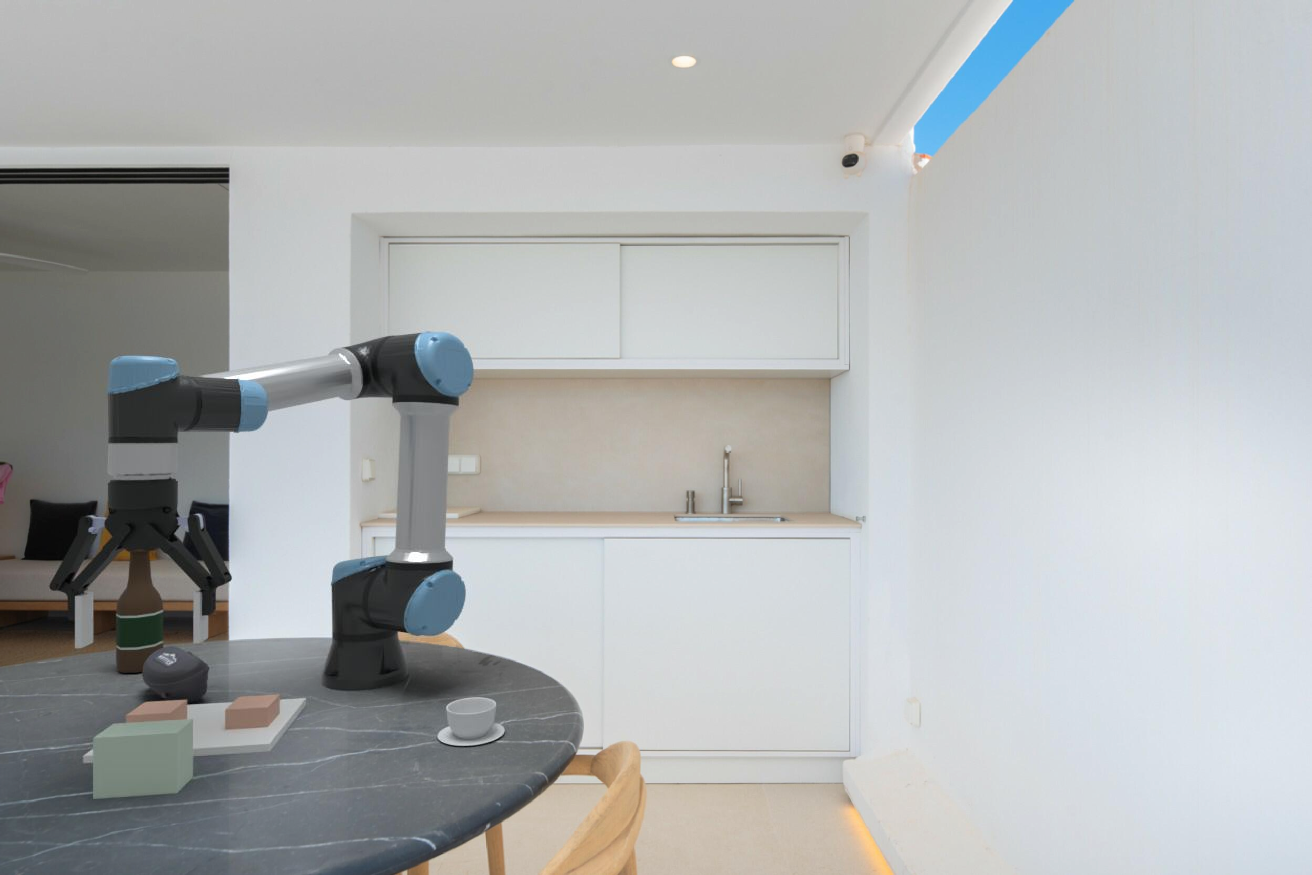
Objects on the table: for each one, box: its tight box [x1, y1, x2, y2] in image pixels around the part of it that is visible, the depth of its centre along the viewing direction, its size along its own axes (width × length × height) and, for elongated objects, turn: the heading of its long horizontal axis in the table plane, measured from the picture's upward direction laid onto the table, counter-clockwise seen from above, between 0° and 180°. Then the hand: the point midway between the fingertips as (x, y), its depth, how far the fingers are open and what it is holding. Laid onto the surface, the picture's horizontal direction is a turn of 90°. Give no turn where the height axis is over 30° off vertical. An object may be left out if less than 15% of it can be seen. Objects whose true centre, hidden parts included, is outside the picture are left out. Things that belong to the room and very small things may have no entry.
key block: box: [92, 719, 194, 800], centre depth 100 cm, size 10×5×8 cm, turn 100°
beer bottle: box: [115, 549, 164, 674], centre depth 153 cm, size 8×8×24 cm
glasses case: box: [141, 645, 210, 705], centre depth 136 cm, size 18×10×8 cm, turn 48°
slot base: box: [82, 693, 307, 764], centre depth 120 cm, size 24×20×4 cm
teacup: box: [437, 696, 506, 747], centre depth 118 cm, size 10×10×5 cm
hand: (143, 643), depth 100 cm, fingers open, 13 cm apart
